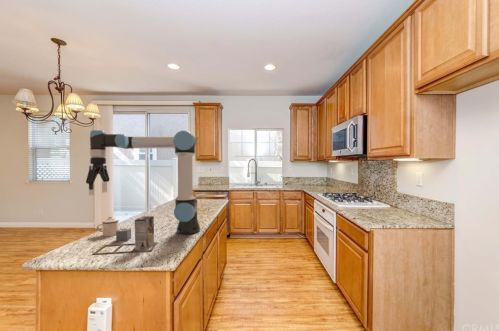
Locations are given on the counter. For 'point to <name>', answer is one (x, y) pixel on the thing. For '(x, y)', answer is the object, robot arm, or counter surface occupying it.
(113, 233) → the teacup with lid
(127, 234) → the die
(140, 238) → the coffee box
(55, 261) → the counter surface
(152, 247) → the brown flat frame
